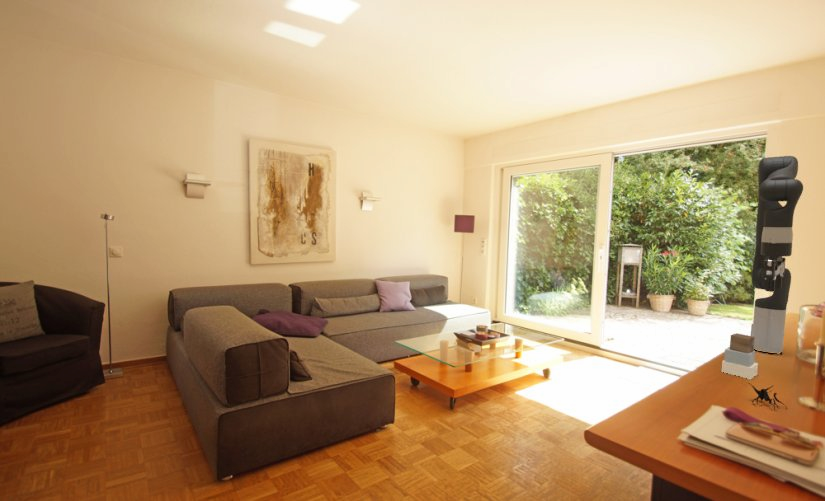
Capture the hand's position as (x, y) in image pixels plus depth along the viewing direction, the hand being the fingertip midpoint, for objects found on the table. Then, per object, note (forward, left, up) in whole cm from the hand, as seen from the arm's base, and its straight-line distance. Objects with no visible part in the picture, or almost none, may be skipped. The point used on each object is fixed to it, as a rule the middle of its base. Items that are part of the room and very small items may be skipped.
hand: (773, 289), depth 133 cm
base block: (+4, -11, -28) cm, 30 cm away
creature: (+29, -20, -28) cm, 45 cm away
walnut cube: (+4, -11, -20) cm, 23 cm away
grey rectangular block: (+4, -11, -24) cm, 27 cm away
